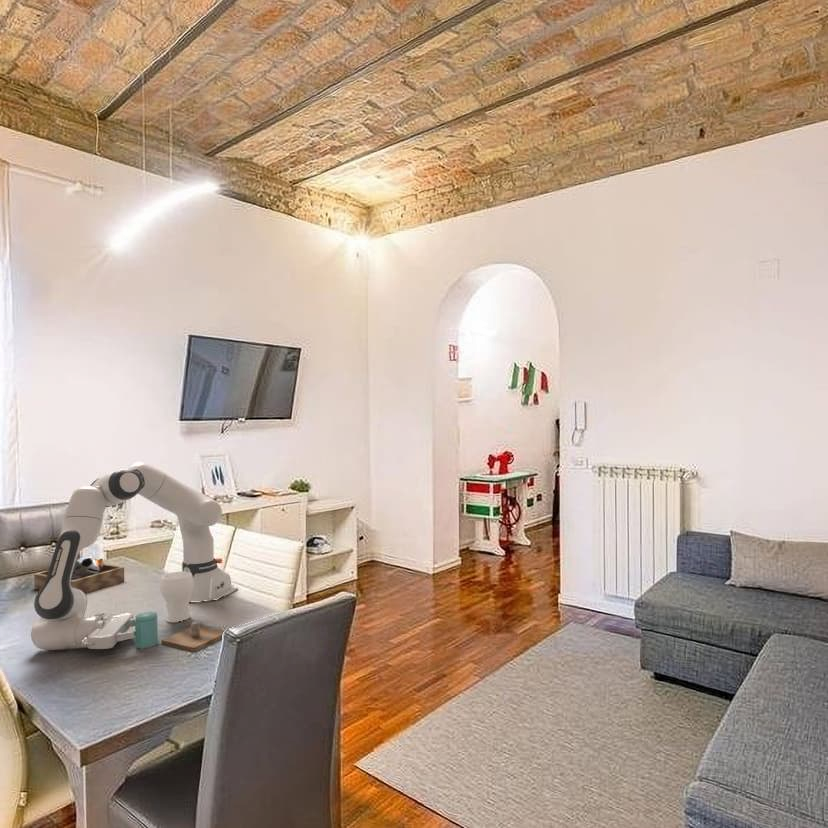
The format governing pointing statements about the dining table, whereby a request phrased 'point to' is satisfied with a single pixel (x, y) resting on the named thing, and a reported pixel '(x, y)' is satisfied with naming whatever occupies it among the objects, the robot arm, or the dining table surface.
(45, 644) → the robot arm
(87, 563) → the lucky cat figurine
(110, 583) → the tray
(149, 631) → the teal octagonal jar
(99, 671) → the dining table surface
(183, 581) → the cup
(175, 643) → the square wooden board
